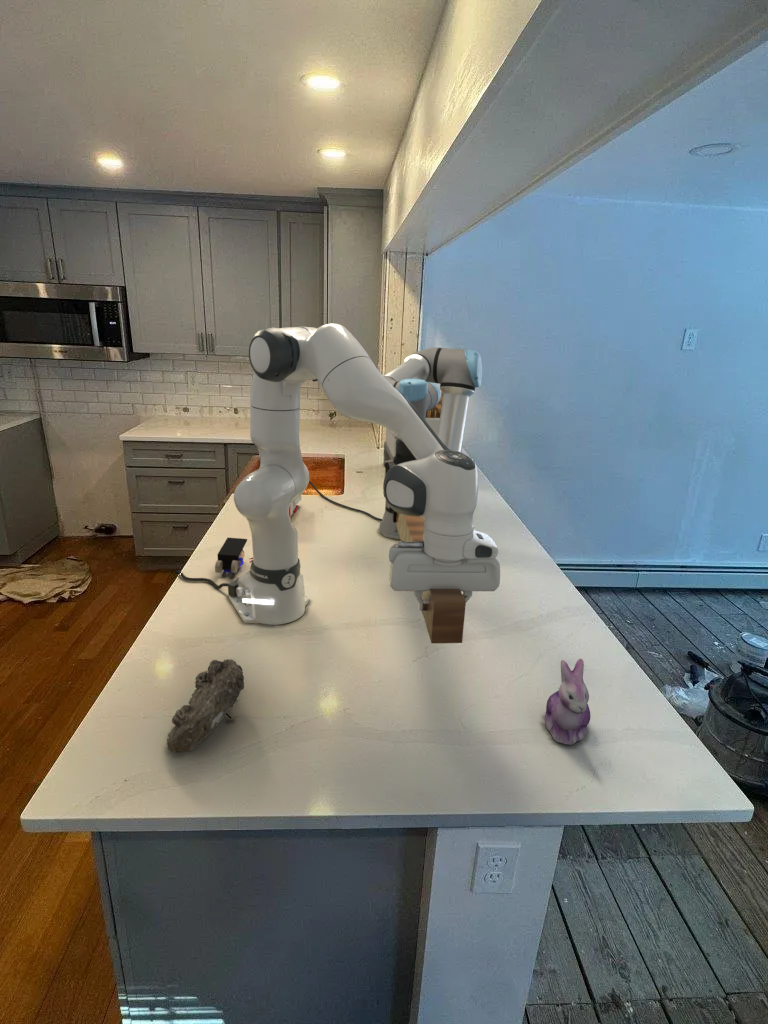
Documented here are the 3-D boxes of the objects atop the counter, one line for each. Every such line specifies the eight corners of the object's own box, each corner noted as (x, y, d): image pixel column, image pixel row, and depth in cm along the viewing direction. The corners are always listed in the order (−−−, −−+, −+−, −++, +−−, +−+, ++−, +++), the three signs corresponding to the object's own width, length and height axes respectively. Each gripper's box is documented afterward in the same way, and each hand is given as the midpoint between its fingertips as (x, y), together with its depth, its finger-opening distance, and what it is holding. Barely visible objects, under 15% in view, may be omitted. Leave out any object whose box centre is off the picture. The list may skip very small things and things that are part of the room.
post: (393, 514, 164) (394, 487, 162) (412, 514, 165) (413, 487, 162) (431, 643, 101) (434, 602, 98) (462, 643, 101) (465, 602, 98)
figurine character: (238, 584, 162) (249, 557, 175) (236, 562, 158) (247, 536, 172) (215, 584, 161) (227, 556, 175) (212, 561, 158) (225, 535, 171)
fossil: (192, 660, 117) (244, 628, 112) (224, 691, 120) (276, 661, 115) (142, 746, 98) (202, 712, 93) (182, 779, 101) (242, 748, 96)
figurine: (568, 754, 103) (581, 685, 97) (530, 719, 111) (540, 654, 106) (605, 739, 107) (619, 671, 102) (565, 706, 115) (577, 642, 110)
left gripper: (391, 548, 98) (387, 618, 103) (507, 549, 100) (498, 618, 104) (388, 534, 104) (384, 601, 108) (497, 535, 106) (489, 601, 110)
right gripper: (375, 441, 146) (372, 525, 154) (447, 443, 147) (441, 526, 155) (374, 435, 153) (371, 515, 161) (443, 437, 154) (437, 516, 162)
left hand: (441, 609), depth 106 cm, fingers closed on post, 5 cm apart
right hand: (405, 520), depth 158 cm, fingers closed on post, 6 cm apart
